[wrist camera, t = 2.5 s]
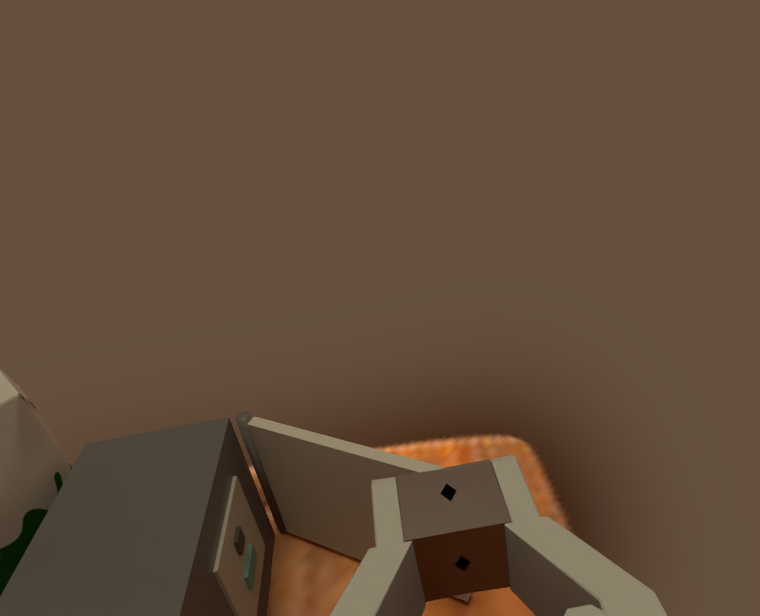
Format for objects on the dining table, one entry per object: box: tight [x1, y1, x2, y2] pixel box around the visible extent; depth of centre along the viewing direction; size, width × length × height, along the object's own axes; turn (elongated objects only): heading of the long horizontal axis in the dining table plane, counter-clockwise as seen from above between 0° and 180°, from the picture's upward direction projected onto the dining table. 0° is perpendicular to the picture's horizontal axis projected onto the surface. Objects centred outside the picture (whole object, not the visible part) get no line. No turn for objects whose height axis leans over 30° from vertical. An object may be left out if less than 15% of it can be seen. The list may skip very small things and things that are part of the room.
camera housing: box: [0, 418, 275, 616], centre depth 35 cm, size 18×10×12 cm, turn 4°
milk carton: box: [0, 369, 72, 596], centre depth 38 cm, size 9×9×20 cm
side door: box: [236, 412, 471, 602], centre depth 37 cm, size 16×1×11 cm, turn 61°
